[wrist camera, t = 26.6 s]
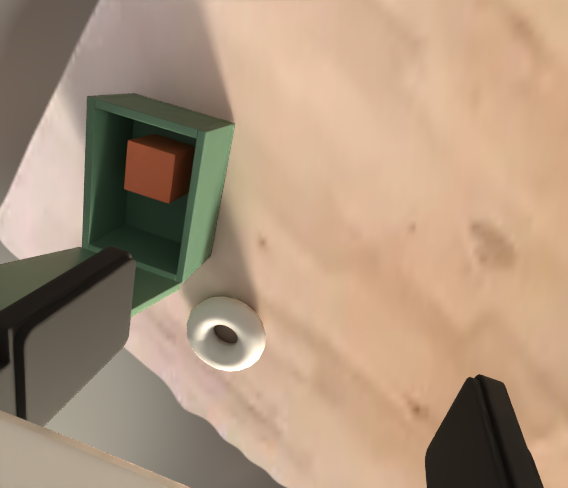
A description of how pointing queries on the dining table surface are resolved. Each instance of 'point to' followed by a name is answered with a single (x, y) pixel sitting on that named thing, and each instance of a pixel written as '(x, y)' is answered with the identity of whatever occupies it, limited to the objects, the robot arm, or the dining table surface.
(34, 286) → the lid
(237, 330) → the donut
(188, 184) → the block
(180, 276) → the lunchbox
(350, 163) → the dining table surface
